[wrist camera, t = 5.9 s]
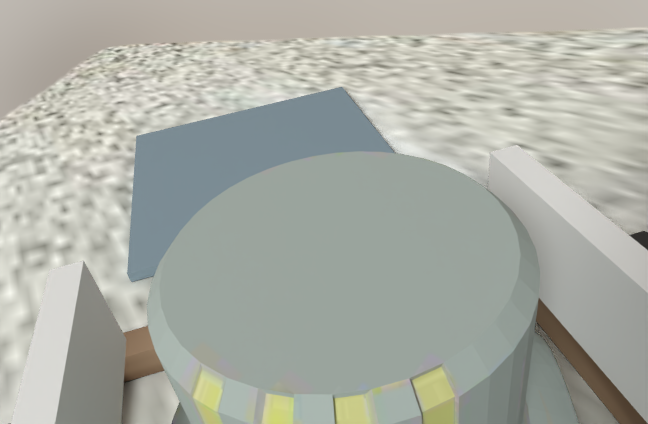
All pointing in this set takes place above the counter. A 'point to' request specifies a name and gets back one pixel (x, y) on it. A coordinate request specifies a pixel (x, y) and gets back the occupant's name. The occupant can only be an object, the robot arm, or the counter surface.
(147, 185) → the rubber mat
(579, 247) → the robot arm
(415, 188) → the air freshener
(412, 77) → the counter surface
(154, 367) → the wooden frame
